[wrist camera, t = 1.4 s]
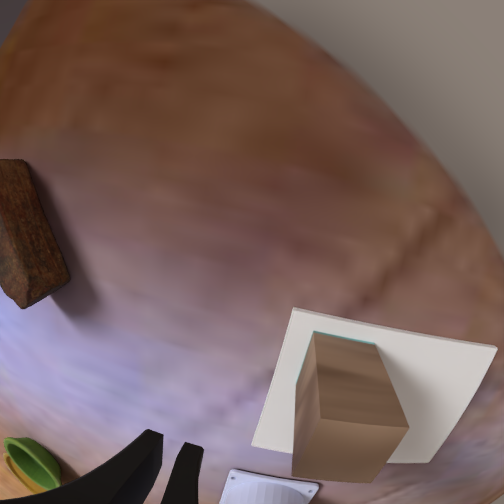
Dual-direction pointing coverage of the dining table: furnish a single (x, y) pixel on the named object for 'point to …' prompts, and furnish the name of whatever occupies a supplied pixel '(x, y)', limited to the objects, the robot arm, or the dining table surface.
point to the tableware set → (32, 464)
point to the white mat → (400, 373)
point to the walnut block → (344, 412)
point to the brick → (26, 240)
